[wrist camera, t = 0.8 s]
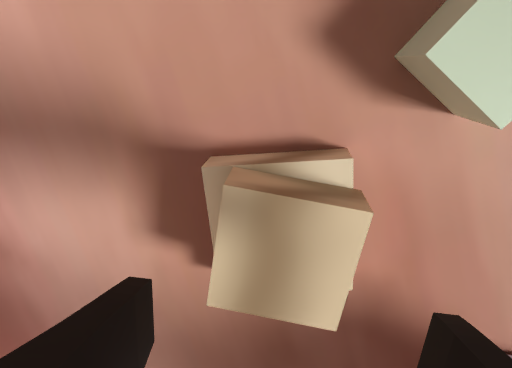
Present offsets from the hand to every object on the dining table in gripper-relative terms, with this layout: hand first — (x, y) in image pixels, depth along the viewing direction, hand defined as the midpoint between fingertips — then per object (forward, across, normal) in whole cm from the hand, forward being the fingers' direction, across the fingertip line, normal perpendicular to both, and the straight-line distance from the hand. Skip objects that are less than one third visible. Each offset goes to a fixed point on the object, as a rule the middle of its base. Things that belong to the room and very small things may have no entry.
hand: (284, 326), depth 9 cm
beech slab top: (+8, 0, +2) cm, 8 cm away
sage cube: (+10, -7, -8) cm, 14 cm away
